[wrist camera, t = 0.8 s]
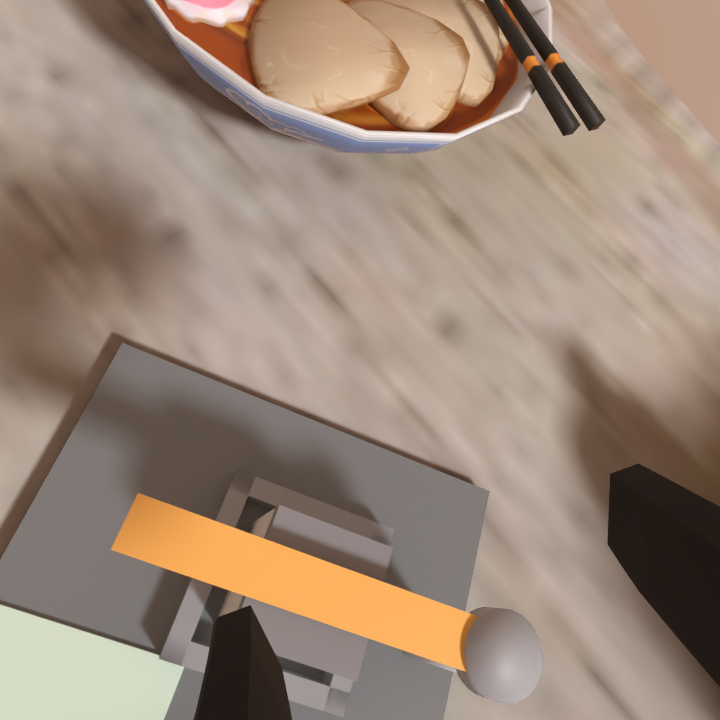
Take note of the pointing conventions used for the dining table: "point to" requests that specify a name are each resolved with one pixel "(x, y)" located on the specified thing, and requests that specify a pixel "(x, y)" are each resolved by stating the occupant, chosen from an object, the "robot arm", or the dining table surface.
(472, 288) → the dining table surface
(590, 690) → the dining table surface
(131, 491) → the socket board
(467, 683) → the orange flat bar
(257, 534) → the plug
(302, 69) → the ramen bowl
